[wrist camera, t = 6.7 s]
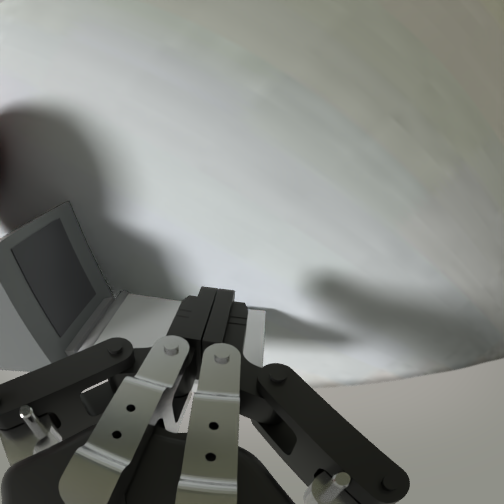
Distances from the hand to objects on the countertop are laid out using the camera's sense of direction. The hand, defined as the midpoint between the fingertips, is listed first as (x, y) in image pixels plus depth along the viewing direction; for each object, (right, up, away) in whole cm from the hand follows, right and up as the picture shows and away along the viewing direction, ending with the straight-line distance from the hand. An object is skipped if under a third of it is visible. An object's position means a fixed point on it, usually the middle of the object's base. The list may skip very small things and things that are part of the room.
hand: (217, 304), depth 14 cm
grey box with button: (-16, +1, +7) cm, 17 cm away
